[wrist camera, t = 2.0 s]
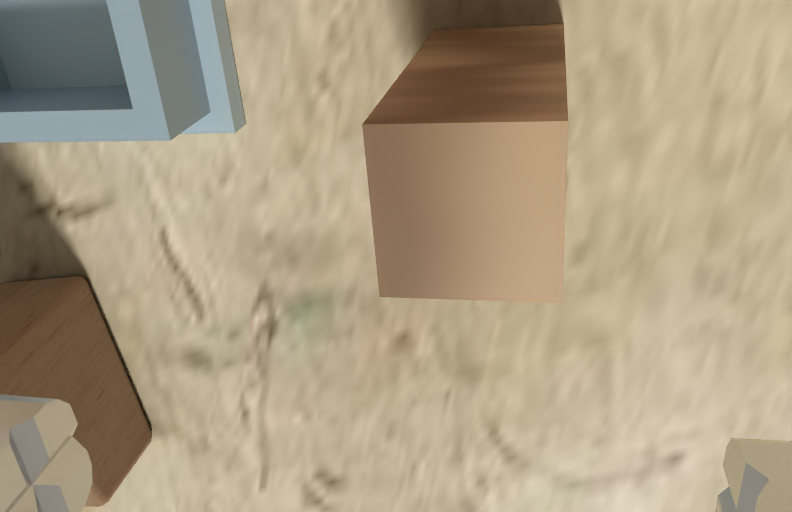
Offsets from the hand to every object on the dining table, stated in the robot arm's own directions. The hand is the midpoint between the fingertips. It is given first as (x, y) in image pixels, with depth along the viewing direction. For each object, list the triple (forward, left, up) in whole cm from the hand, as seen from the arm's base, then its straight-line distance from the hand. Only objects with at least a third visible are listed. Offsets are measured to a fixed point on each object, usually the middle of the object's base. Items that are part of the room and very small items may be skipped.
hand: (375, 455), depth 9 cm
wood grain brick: (0, 0, -17) cm, 17 cm away
